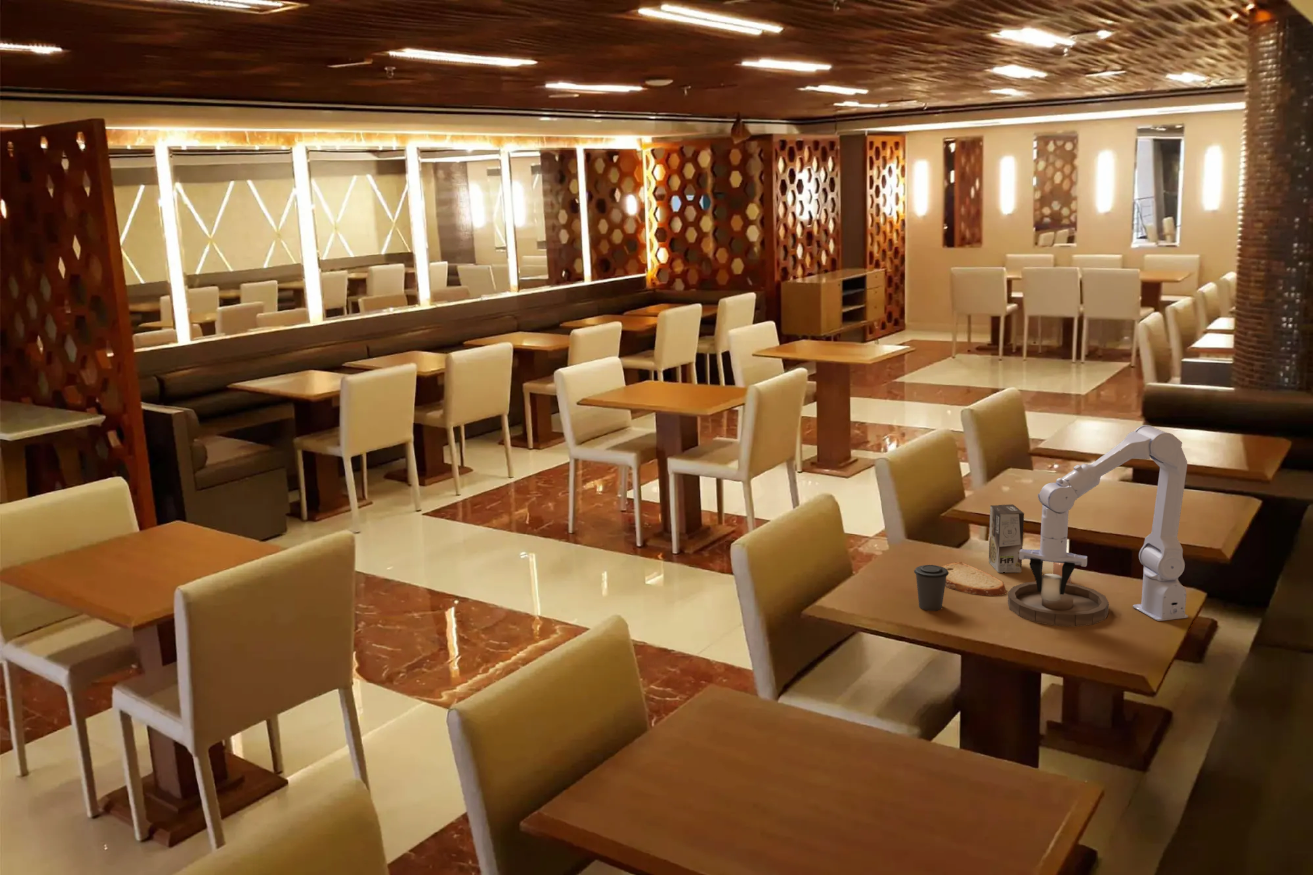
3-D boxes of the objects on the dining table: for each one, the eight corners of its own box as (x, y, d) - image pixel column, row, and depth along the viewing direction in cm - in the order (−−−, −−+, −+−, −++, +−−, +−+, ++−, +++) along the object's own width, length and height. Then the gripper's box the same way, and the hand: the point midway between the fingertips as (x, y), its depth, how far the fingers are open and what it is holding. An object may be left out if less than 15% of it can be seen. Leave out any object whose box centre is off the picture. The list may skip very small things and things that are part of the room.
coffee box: (1022, 572, 278) (1025, 513, 274) (997, 573, 278) (999, 513, 274) (1011, 561, 287) (1014, 503, 283) (987, 561, 287) (989, 504, 283)
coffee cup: (948, 613, 252) (950, 573, 250) (913, 612, 253) (914, 572, 251) (946, 601, 259) (947, 562, 257) (912, 600, 261) (913, 561, 259)
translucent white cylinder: (1049, 601, 244) (1050, 581, 243) (1036, 595, 248) (1037, 575, 247) (1065, 599, 245) (1066, 578, 244) (1052, 592, 249) (1053, 572, 248)
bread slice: (1008, 598, 262) (1009, 583, 261) (933, 594, 265) (933, 580, 265) (1000, 573, 279) (1001, 560, 278) (930, 571, 282) (930, 557, 282)
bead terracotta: (1074, 583, 268) (1075, 565, 267) (1058, 585, 268) (1059, 566, 267) (1064, 578, 273) (1065, 559, 272) (1049, 579, 272) (1050, 561, 271)
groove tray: (1127, 620, 244) (1127, 609, 244) (1039, 630, 240) (1040, 618, 240) (1072, 588, 265) (1073, 577, 265) (991, 596, 261) (991, 586, 261)
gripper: (1089, 534, 244) (1086, 590, 246) (1023, 527, 250) (1020, 582, 253) (1086, 542, 237) (1083, 600, 240) (1018, 535, 244) (1016, 591, 247)
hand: (1051, 591), depth 246 cm, fingers closed on translucent white cylinder, 4 cm apart
